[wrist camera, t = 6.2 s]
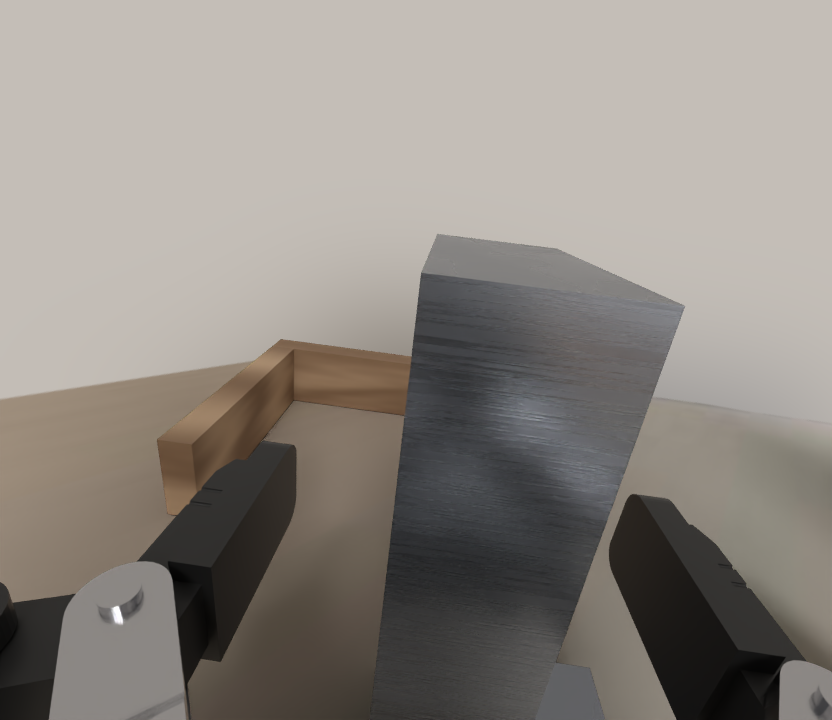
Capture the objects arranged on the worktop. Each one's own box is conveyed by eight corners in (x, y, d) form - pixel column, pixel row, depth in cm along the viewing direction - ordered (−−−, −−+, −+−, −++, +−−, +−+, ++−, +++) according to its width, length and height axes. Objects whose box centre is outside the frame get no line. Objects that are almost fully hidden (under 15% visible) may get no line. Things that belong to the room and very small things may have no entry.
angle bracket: (643, 957, 9) (1132, 363, 4) (348, 904, 9) (421, 272, 4) (577, 696, 14) (753, 272, 8) (383, 666, 14) (436, 234, 9)
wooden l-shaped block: (561, 572, 18) (585, 500, 17) (167, 514, 19) (157, 439, 17) (516, 420, 31) (527, 372, 29) (281, 388, 31) (280, 339, 30)
